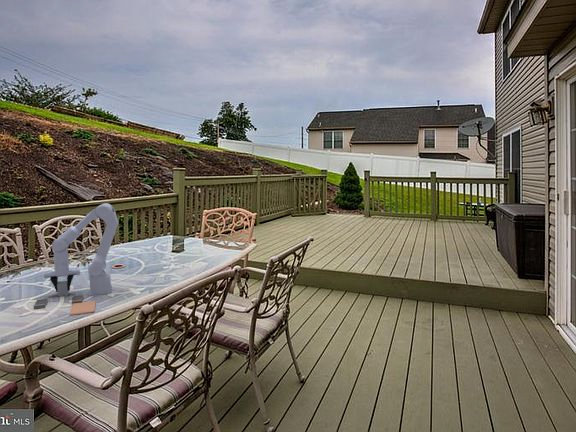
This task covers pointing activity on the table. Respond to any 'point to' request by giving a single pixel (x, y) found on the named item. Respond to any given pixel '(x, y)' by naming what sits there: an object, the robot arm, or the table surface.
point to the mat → (83, 308)
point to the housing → (43, 302)
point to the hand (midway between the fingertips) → (63, 291)
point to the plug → (62, 288)
